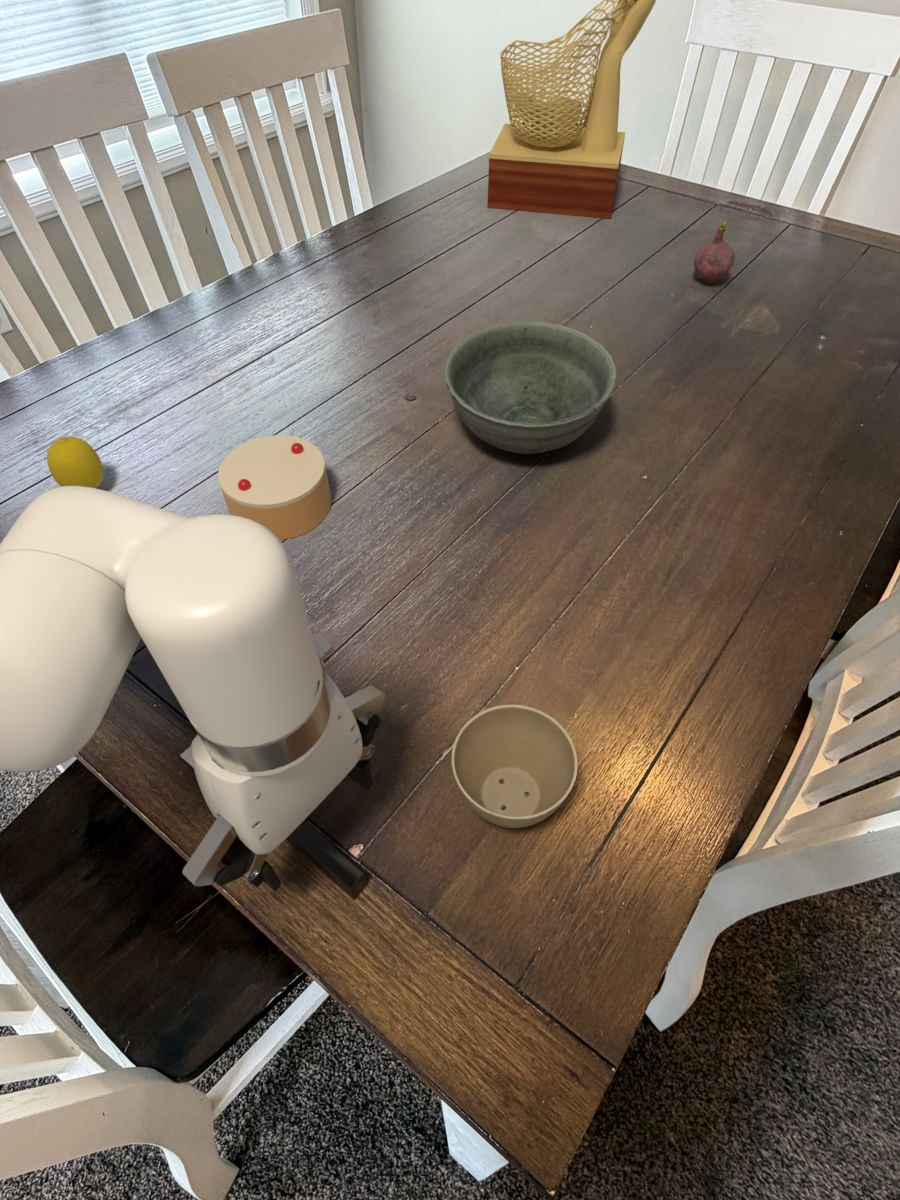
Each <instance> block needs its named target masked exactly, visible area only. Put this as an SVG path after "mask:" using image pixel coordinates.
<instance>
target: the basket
mask: <svg viewBox="0 0 900 1200" xmlns="http://www.w3.org/2000/svg"><path fill="white" fill-rule="evenodd" d="M656 2H657V0H602V1H601V2H600V3H598V4H596V5H595V6H594V7H593V8H592V9H591V10H590V11H588V13H586V15H584V16H583V18H581V19H580V20H579V21H578V22H577V23H576V24H575V25H574V26H573V27H572V28H571V29H570V30H568V32H566V34H564V35H562V36H559V37H557V38H554V39H552V40H549V41H547V42H544V43H543V42H534V41H527V40H519V39H516V40H514V41H513V42H511V43H510V44H508V45H506V47H504V48H503V50H501V51H500V53H499V54H500V71H501V78H502V85H503V91H504V98H505V102H506V108H507V113H508V119H509V123H504V125H503V126H502V128H501V130H500V132H499V134H498V136H497V138H496V140H495V142H494V143H493V146H492V147H491V149H490V151H489V154H488V176H487V177H488V178H487V180H488V182H487V208H489V209H497V210H498V209H499V210H508V211H509V210H511V211H520V212H521V211H523V212H531V213H532V212H533V213H545V214H554V215H565V216H567V215H568V216H575V217H576V216H577V217H587V218H598V219H611V216H612V211H613V206H614V202H615V197H616V192H617V187H618V182H619V175H620V170H621V162H622V157H623V151H624V144H625V137H626V131H618V129H619V128H618V127H619V113H620V111H619V110H620V93H621V68H622V60H623V57H624V55H625V53H626V52H627V51H628V49H629V48H630V47H631V45H632V44H633V43H634V41H635V40H636V38H637V37H638V35H639V33H640V31H641V30H642V28H643V26H644V24H645V22H646V21H647V19H648V17H649V15H650V14H651V12H652V10H653V8H654V6H655V5H656ZM609 3H611V4H609ZM603 4H604V5H603ZM608 4H609V5H608ZM607 5H608V6H607ZM606 6H607V7H606ZM601 7H602V8H601ZM605 7H606V8H605ZM611 7H612V8H611ZM610 8H611V9H610ZM608 9H610V11H608V12H607V10H608ZM595 14H596V15H595ZM594 15H595V16H594ZM603 15H605V16H603ZM593 16H594V17H593ZM598 16H599V18H598V19H597V17H598ZM592 17H593V18H592ZM587 21H588V22H587ZM605 21H606V24H604V22H605ZM592 22H594V23H593V24H592V25H591V26H590V27H589V28H588V29H586V27H587V26H588V25H590V24H591V23H592ZM597 24H598V26H596V25H597ZM595 26H596V27H595ZM594 27H595V28H594ZM600 27H601V29H600V30H598V29H599V28H600ZM582 31H584V32H583V33H582V34H581V32H582ZM576 33H577V34H576ZM575 34H576V35H575ZM580 34H581V35H580ZM600 34H601V35H600ZM574 35H575V37H574ZM579 35H580V36H579ZM607 36H608V37H607ZM597 37H598V39H597V40H596V41H594V40H595V39H596V38H597ZM572 38H573V40H572ZM606 38H607V39H606ZM570 40H572V41H571V42H570ZM605 40H606V41H605ZM569 42H570V43H569ZM598 42H599V43H598ZM517 43H518V44H517ZM603 43H604V45H603ZM530 44H532V45H530ZM554 44H555V45H554ZM562 44H563V45H562ZM552 45H554V46H552ZM561 45H562V46H561ZM602 45H603V47H602ZM537 46H538V47H540V48H536V47H537ZM522 47H526V48H524V49H523V48H522ZM594 47H595V48H594ZM601 47H602V49H601ZM593 48H594V49H593ZM530 49H533V51H531V52H529V51H528V50H530ZM544 49H548V50H546V51H545V52H543V51H541V50H544ZM554 49H556V50H555V51H553V52H552V50H554ZM511 50H512V51H511ZM516 50H520V51H519V52H515V51H516ZM561 50H562V51H561ZM590 51H591V52H590ZM537 52H538V53H539V54H535V53H537ZM588 52H589V53H588ZM522 53H526V54H525V55H522ZM587 53H588V54H587ZM508 54H509V56H508ZM553 55H554V56H553ZM517 56H518V57H517ZM529 56H531V57H529ZM542 56H545V57H542ZM537 58H538V60H536V59H537ZM582 58H583V59H582ZM592 58H593V59H592ZM523 59H524V60H523ZM581 59H582V60H581ZM552 60H553V61H552ZM586 60H587V61H586ZM517 61H518V63H516V62H517ZM529 61H532V62H529ZM542 61H544V62H542ZM584 61H586V62H584ZM523 64H524V65H523ZM567 64H568V65H567ZM573 64H574V65H573ZM566 65H567V66H566ZM572 65H573V66H572ZM588 66H589V67H588ZM578 67H580V69H579V68H578ZM584 69H586V71H585V72H583V71H582V70H584ZM578 75H580V76H578ZM586 76H588V77H587V78H586ZM583 78H584V81H581V80H582V79H583ZM588 82H590V83H588ZM570 85H572V86H571V87H570ZM585 86H586V88H585ZM581 88H582V89H581ZM573 89H575V91H574V90H573ZM580 89H581V90H580ZM586 91H587V93H586ZM569 93H571V94H569ZM573 96H574V97H573ZM572 97H573V98H572ZM585 101H586V102H585ZM583 108H584V109H583Z"/></svg>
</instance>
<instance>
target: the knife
mask: <svg viewBox="0 0 900 1200" xmlns="http://www.w3.org/2000/svg"><path fill="white" fill-rule="evenodd" d="M179 757H180V758H181V759H182V760H183V761H184V762H186V764H187V765H188V766H190V767H191V768H192V769H193V770H194V767H193V761H192V749H191V745H190V746H189V747H187V748H186V749H185V750H184V751H183V752H182V753H180V754H179ZM285 841H287V842H288V843H289V844H290V845H291V846H292V847H293V848H295V849H296V850H297V851H298V852H299V853H300V854H301V855H302V856H304V857H305V859H307V860H308V861H309V862H310V863H311V864H312V865H314V867H316V868H317V869H318V870H319V871H320V872H321V873H323V874H324V875H325V876H326V877H327V878H329V880H331V881H332V882H333V883H334V884H335V885H336V886H337V887H338V888H339V889H341V890H342V891H343V892H344V893H345V894H346V895H347V896H348V897H349V898H351V899H352V900H353V901H354V900H356V899H357V898H358V896H359V895H360V894H361V893H362V892H363V891H364V889H365V888H366V887H367V886H368V881H367V878H366V875H365V873H364V871H363V870H362V869H360V868H359V867H357V866H356V865H355V864H354V863H353V862H352V861H351V860H349V859H348V858H347V857H346V856H345V855H344V854H342V853H341V852H340V851H339V850H338V849H337V848H336V847H335V846H333V844H331V843H330V842H329V841H327V840H326V839H325V837H323V836H322V835H321V834H319V833H318V832H317V831H316V830H315V829H314V828H312V827H311V826H310V825H309V824H308V823H307V822H305V820H304V821H303V822H302V823H301V824H300V825H299V826H298V827H297V828H296V829H295V830H294V831H293V832H292V833H291V834H290V835H289V836H288V837H287V838H286V839H285Z"/></svg>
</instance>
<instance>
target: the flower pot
mask: <svg viewBox="0 0 900 1200" xmlns="http://www.w3.org/2000/svg"><path fill="white" fill-rule="evenodd" d="M574 744H575V743H574V742H573V739H572V738H571V736H570V734H569V733H568V731H567V730H566V729H565V727H564V726H563V725H562V724H561V723H560V722H559V721H557V720H556V718H554V717H552V716H551V715H550V714H548V713H546V712H544V711H542V710H540V709H537V708H535V707H531V706H527V705H522V704H501V705H496V706H492V707H488V708H486V709H484V710H482V711H480V712H479V713H477V714H475V715H474V716H472V717H471V718H469V719H468V721H466V722H465V724H464V725H463V726H462V727H461V729H460V730H459V732H458V733H457V734H456V737H455V739H454V742H453V745H452V750H451V770H452V774H453V777H454V781H455V782H456V785H457V787H458V790H459V792H460V794H461V796H462V797H463V799H464V800H465V801H466V803H467V804H468V806H469V807H470V808H471V809H472V810H473V811H474V812H475V813H476V814H477V815H478V816H480V818H482V819H484V820H485V821H487V822H489V823H490V824H492V825H496V826H499V827H500V828H501V827H502V828H506V829H522V828H528V827H531V826H534V825H536V824H538V823H540V822H542V821H544V820H545V819H547V818H549V817H550V816H551V815H552V814H553V813H556V811H557V810H558V809H559V808H560V807H561V806H562V804H563V803H565V801H566V799H567V798H568V796H569V795H570V793H571V791H572V790H573V787H574V785H575V784H576V779H577V775H578V769H579V768H578V767H579V761H578V753H577V749H576V746H575V745H574Z"/></svg>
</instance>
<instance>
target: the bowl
mask: <svg viewBox="0 0 900 1200" xmlns="http://www.w3.org/2000/svg"><path fill="white" fill-rule="evenodd" d="M443 378H444V381H445V385H446V387H447V389H448V392H449V394H450V398H451V400H452V402H453V405H454V407H455V409H456V412H457V413H458V416H459V417H460V418H461V420H462V422H463V423H464V425H465V426H466V427H467V428H468V429H469V430H470V432H472V433H473V435H475V436H476V437H477V438H479V439H481V440H482V441H484V442H485V443H486V444H488V445H490V446H493V447H495V448H497V449H500V450H502V451H506V452H510V453H513V454H516V455H535V454H542V453H544V452H545V453H547V452H551V451H555V450H557V449H561V448H563V447H566V446H568V445H570V444H571V443H572V442H574V441H576V440H577V439H578V438H580V437H581V436H582V435H583V434H585V432H587V430H588V429H589V428H590V427H591V426H592V424H593V423H594V422H595V421H596V420H597V419H598V416H599V415H600V413H601V411H602V410H603V408H604V406H605V404H606V402H608V400H609V399H610V397H611V396H612V394H613V392H614V391H615V387H616V382H617V371H616V364H615V362H614V359H613V357H612V355H611V354H610V353H609V352H608V350H607V349H605V347H604V346H603V345H602V344H600V343H599V342H598V341H596V340H595V339H594V338H592V337H591V336H589V335H587V334H586V333H583V332H581V331H579V330H577V329H575V328H574V329H573V328H571V327H568V326H565V325H561V324H556V323H550V322H546V321H532V320H531V321H513V322H505V323H501V324H495V325H492V326H488V327H484V328H482V329H480V330H477V331H475V332H473V333H471V334H469V335H468V336H466V337H465V338H464V339H462V340H461V341H459V342H458V343H457V344H456V345H455V347H454V348H453V349H452V350H451V352H450V353H449V354H448V355H447V358H446V360H445V363H444V365H443Z"/></svg>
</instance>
